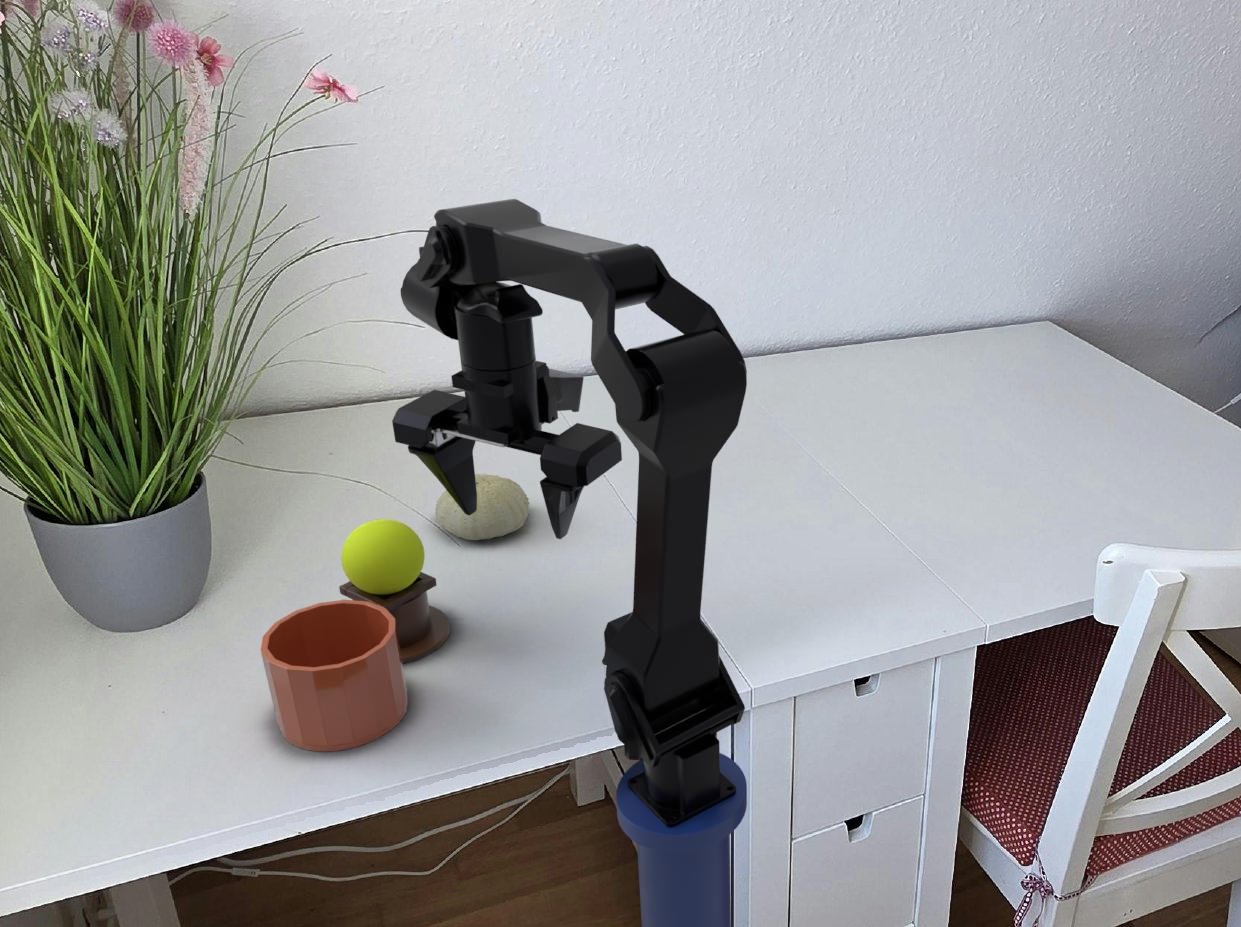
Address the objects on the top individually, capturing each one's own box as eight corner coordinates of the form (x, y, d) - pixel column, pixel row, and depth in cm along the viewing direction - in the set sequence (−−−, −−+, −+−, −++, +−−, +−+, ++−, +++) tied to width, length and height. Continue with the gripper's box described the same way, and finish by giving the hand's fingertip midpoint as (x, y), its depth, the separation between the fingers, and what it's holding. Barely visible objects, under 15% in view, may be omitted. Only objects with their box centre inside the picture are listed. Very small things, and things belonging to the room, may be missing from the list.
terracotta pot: (427, 719, 101) (414, 640, 98) (305, 768, 95) (286, 686, 91) (380, 663, 107) (367, 587, 103) (262, 707, 101) (243, 627, 97)
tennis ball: (441, 592, 109) (432, 528, 105) (365, 618, 104) (353, 552, 101) (410, 560, 113) (400, 498, 109) (335, 584, 108) (323, 520, 105)
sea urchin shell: (455, 542, 122) (431, 468, 123) (444, 564, 128) (422, 494, 129) (545, 520, 127) (521, 449, 128) (531, 542, 133) (509, 475, 134)
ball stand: (471, 628, 113) (464, 575, 110) (390, 678, 106) (380, 622, 103) (402, 597, 116) (394, 545, 113) (319, 643, 109) (308, 589, 106)
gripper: (653, 346, 103) (659, 507, 111) (466, 307, 108) (484, 464, 115) (576, 394, 94) (589, 566, 101) (375, 348, 99) (401, 516, 106)
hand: (516, 524), depth 106 cm, fingers open, 9 cm apart
